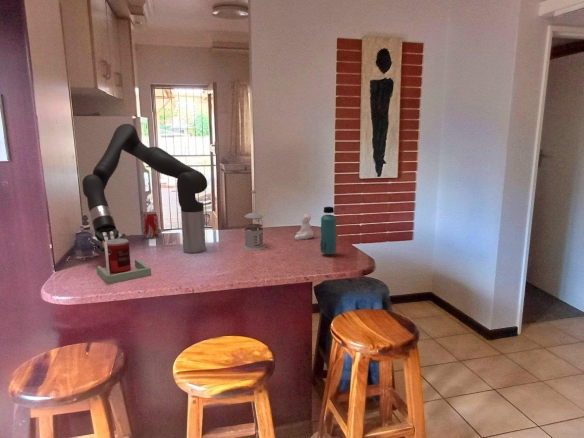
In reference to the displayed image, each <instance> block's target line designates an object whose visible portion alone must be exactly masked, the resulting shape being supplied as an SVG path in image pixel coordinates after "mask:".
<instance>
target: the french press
mask: <svg viewBox="0 0 584 438" xmlns="http://www.w3.org/2000/svg"><path fill="white" fill-rule="evenodd" d="M250 193H251V194H256V191H255V190H251V191H250ZM254 203H255V202H254V195H252V207H253V208H252V212H249V213H246V214H245V215H244V218H245V220H246V219H247V220H255V221H256V222H258V223H249V224H245V228H244V234H245V235H244V239H245V242H244V243H245V245H243V248H242V249H244V250H246V251H259V250H263V249H266V245H265V244H264V236H263V234H264V227H263V226H264V225H263V217H264V215H263V214H261V213H258V212H255V210H254V209H255V207H254V206H255V205H254ZM260 220H261V224H260Z"/></svg>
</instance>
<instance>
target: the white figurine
mask: <svg viewBox="0 0 584 438" xmlns="http://www.w3.org/2000/svg"><path fill="white" fill-rule="evenodd" d="M310 221H311V214H310V213H304V214H303V216H301V220H300V222H302V223H301V225H300V230H299V231H297V232H296V233H295V234H296V235H294V240H295V241H300V240H301V241H303V240H302V239H304V240H310V238H311V239H312V238H313V237H314V231H313V229H312V228H311V224H310Z"/></svg>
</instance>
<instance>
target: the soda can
mask: <svg viewBox="0 0 584 438" xmlns="http://www.w3.org/2000/svg"><path fill="white" fill-rule="evenodd" d="M158 216H159V215H158V214H157V211H145V212H143V215H142V219H141V220H142V231H143V232H142V233H143V237H144V238H146V239H151V240H152V239H156V238H158V237H159V236H160V229H159V217H158Z"/></svg>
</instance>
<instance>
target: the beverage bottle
mask: <svg viewBox="0 0 584 438" xmlns="http://www.w3.org/2000/svg"><path fill="white" fill-rule="evenodd" d="M323 213H324V215H322V216H321V217H320V252H321V253H322V254H327V255H330V254H335V253H336V252H337V218H338V217H336V215H334V213H335V209H334V207H333V206H325V207H323Z"/></svg>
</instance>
